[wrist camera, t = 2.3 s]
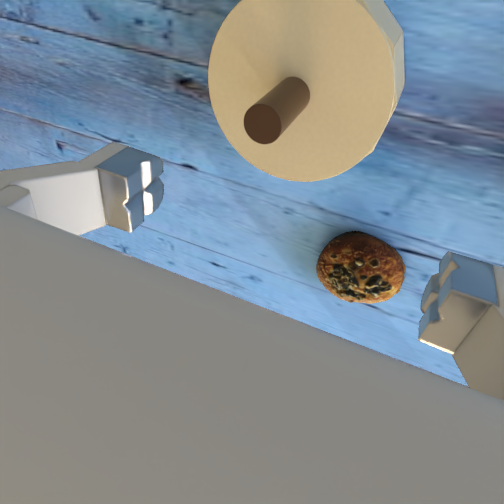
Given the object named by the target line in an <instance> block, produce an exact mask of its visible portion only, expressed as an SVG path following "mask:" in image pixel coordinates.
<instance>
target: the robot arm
mask: <svg viewBox="0 0 504 504" xmlns="http://www.w3.org/2000/svg"><path fill="white" fill-rule="evenodd" d="M162 173H163V161H162V160H161V158H160V157H158V156H155V155H152V154H149V153H146V152H143V151H140V150H138V149H135V148H132V147H129V146H126V145H123V144H120V143H115V142H112V143H110V144H108V145H107V146H105V147H103V148H101V149H100V150H98V151H96V152H94V153H93V154H91V155H89V156H88V157H86V158H84V159H82V160H81V161H79V162H75V161H68V162H61V163H54V164H46V165H39V166H32V167H24V168H17V169H10V170H2V171H0V504H504V267H500V266H497V265H493V264H489V263H486V262H483V261H479V260H476V259H473V258H469V257H466V256H462V255H459V254H456V253H452V252H449V251H448V252H447V253H446V254H445V255H444V257H443V258H442V260H441V261H440V263H439V273H437V274H435V275H433V276H431V278H430V280H429V282H428V284H427V286H426V288H425V291H424V293H423V296H422V301H421V311H422V312H423V313H424V315H423V316H422V318H421V320H420V321H419V336H418V340H419V341H421V342H423V343H426V344H428V345H431V346H433V347H436V348H438V349H441V350H443V351H446V352H448V353H451V354H453V355H452V356H453V358H454V360H455V362H456V364H457V366H458V368H459V369H460V371H461V373H462V375H463V377H464V379H465V381H466V382H467V384H468V386H469V387H467V386H465V385H462V384H459V383H457V382H454V381H452V380H449V379H447V378H444V377H441V376H439V375H436V374H434V373H431V372H429V371H426V370H423V369H421V368H418V367H416V366H413V365H410V364H408V363H405V362H403V361H400V360H398V359H395V358H392V357H390V356H387V355H385V354H382V353H380V352H377V351H374V350H372V349H369V348H367V347H364V346H361V345H359V344H356V343H354V342H351V341H349V340H346V339H343V338H341V337H338V336H336V335H333V334H331V333H328V332H325V331H323V330H320V329H318V328H315V327H312V326H310V325H307V324H305V323H302V322H300V321H297V320H294V319H292V318H289V317H287V316H284V315H282V314H279V313H276V312H274V311H271V310H269V309H266V308H263V307H261V306H258V305H256V304H253V303H251V302H248V301H245V300H243V299H240V298H238V297H235V296H233V295H230V294H227V293H225V292H222V291H220V290H217V289H215V288H212V287H209V286H207V285H204V284H202V283H199V282H196V281H194V280H191V279H189V278H186V277H184V276H181V275H178V274H176V273H173V272H171V271H168V270H166V269H163V268H160V267H158V266H155V265H153V264H150V263H148V262H145V261H142V260H140V259H137V258H135V257H132V256H130V255H127V254H124V253H122V252H119V251H117V250H114V249H111V248H109V247H106V246H104V245H101V244H99V243H96V242H93V241H91V240H88V239H86V238H83V237H81V236H78V235H81V234H84V233H86V232H89V231H92V230H95V229H97V228H100V227H103V226H105V224H107V225H109V226H112V227H115V228H118V229H121V230H124V231H127V232H130V233H131V232H132V231H134V230H135V229H136V228H137V227H138V226H139V225H140V224H141V223H142V222H144V215H148V214H151V213H153V212H154V211H155V210H156V209H157V208H158V207H159V205H160V203H161V201H162V199H163V193H164V185H163V183H162V181H161V179H160V178H159V176H160V175H161V174H162Z"/></svg>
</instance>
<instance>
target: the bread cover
mask: <svg viewBox="0 0 504 504" xmlns="http://www.w3.org/2000/svg"><path fill="white" fill-rule="evenodd" d="M404 84H405V73H404V39H403V30H402V28H401V27H400V25H399V24H398V22H397V21H396V19H395V18H394V16H393V15H392V13H391V11H390V10H389V8H388V7H387V5H386V4H385V2H384V1H383V0H241V1H240V2H239V3H238V4H237V5H236V6H235V7H234V8H233V9H232V10H231V12H230V13H229V14H228V16H227V17H226V19H225V20H224V21H223V23H222V25H221V27H220V28H219V30H218V32H217V35H216V38H215V40H214V43H213V46H212V50H211V55H210V59H209V69H208V85H209V94H210V99H211V103H212V108H213V110H214V113H215V116H216V119H217V121H218V123H219V125H220V127H221V129H222V131H223V133H224V134H225V136H226V138H227V139H228V141H229V142H230V143H231V145H232V146H233V147H234V148H235V149H236V150H237V151H238V153H239V154H240V155H241V156H242V157H244V158H245V159H246V160H247V161H248V162H250V163H251V164H252V165H254V166H255V167H257V168H258V169H260V170H262V171H264V172H266V173H268V174H270V175H273V176H275V177H278V178H282V179H286V180H291V181H305V182H309V181H318V180H323V179H327V178H331V177H334V176H336V175H338V174H341V173H343V172H345V171H346V170H348V169H350V168H352V167H353V166H354V165H356V164H357V163H358V162H360V161H361V160H362V159H363V158H364V157H365V156H367V155H368V154H370V153H371V152H373V150H374V148H375V146H376V144H377V142H378V140H379V138H380V137H381V135H382V133H383V131H384V129H385V127H386V125H387V123H388V121H389V119H390V117H391V115H392V113H393V112H394V110H395V108H396V106H397V103H398V100H399V98H400V95H401V92H402V90H403V87H404Z"/></svg>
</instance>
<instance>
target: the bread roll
mask: <svg viewBox="0 0 504 504" xmlns="http://www.w3.org/2000/svg"><path fill="white" fill-rule="evenodd" d="M316 270H317V274H318V278H319V280H320V282H322V283H323V285H324V287H325V288H326V289H327V290H329V291H330V292H331V293H332V294H334V295H335V296H337V297H338V298H340V299H341V300H345V301H348V302H350V303H352V302H364V303H377V302H382V301H386V300H388V299H390V298H391V297H393V295H394V294H397V293H398V292H399V291H400V289H401V285H402V283H403V281H404V273H405V265H404V263H403V261H402V257H401V256H400V255H399V254H398V252H397V251H396V249H395V248H392V247H391V246H390V245H388V244H387V243H385V242H384V241H382V240H380V239H378V238H376V237H372V236H370V235H368V234H365V233H363V232H360V231H357V232H356V231H354V232H353V231H351V232H346V233H343V234H341V235H340V236H337V237H335V238H334V239H333V240H332V241H331V242H329V244H327V246H326V247H325V248H324V250H323V251H322V253H321V255H320V256H319V259H318V262H317V268H316Z"/></svg>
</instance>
